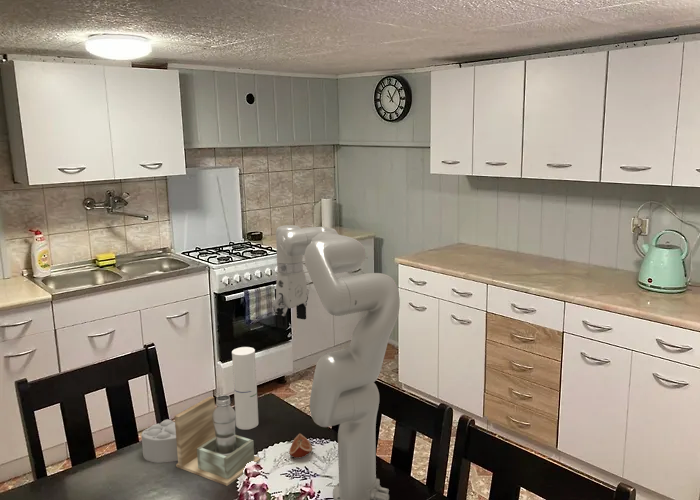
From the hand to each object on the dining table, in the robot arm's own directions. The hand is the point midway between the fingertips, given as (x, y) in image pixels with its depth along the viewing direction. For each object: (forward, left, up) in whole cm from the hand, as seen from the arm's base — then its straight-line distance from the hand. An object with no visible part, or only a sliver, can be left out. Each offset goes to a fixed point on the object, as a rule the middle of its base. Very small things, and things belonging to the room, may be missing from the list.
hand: (292, 323), depth 172 cm
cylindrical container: (+18, +2, -36) cm, 41 cm away
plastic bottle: (+7, +24, -36) cm, 43 cm away
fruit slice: (-8, +9, -37) cm, 39 cm away
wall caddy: (+10, +24, -36) cm, 45 cm away
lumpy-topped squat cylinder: (+28, +27, -37) cm, 53 cm away
